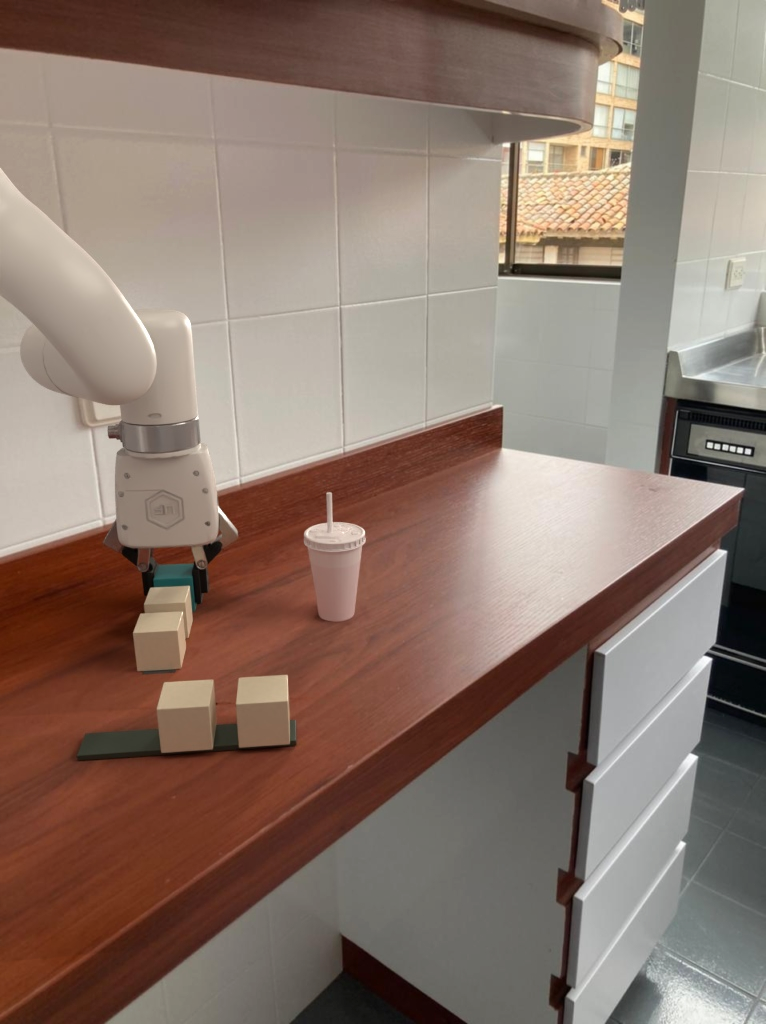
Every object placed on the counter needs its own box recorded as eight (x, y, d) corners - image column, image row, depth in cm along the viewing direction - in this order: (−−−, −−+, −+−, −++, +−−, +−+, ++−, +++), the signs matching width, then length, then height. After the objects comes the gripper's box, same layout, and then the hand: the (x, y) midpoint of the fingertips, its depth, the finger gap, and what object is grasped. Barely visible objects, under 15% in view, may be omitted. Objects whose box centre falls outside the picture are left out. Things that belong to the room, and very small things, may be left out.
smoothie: (294, 615, 87) (289, 490, 83) (342, 598, 91) (339, 478, 86) (330, 637, 83) (326, 506, 78) (379, 618, 86) (378, 492, 82)
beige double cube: (136, 679, 75) (131, 635, 74) (163, 600, 91) (159, 562, 89) (181, 676, 75) (176, 632, 74) (199, 598, 91) (196, 561, 90)
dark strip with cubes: (75, 765, 63) (68, 714, 62) (87, 734, 67) (80, 686, 65) (296, 749, 65) (294, 700, 63) (295, 720, 69) (293, 673, 67)
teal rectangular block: (156, 614, 87) (153, 579, 85) (162, 598, 90) (158, 564, 89) (195, 612, 87) (191, 577, 86) (198, 596, 91) (195, 563, 89)
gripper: (67, 447, 78) (90, 619, 84) (243, 441, 80) (254, 611, 86) (85, 429, 85) (105, 589, 91) (247, 424, 87) (256, 582, 93)
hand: (177, 598), depth 88 cm, fingers closed on teal rectangular block, 4 cm apart
